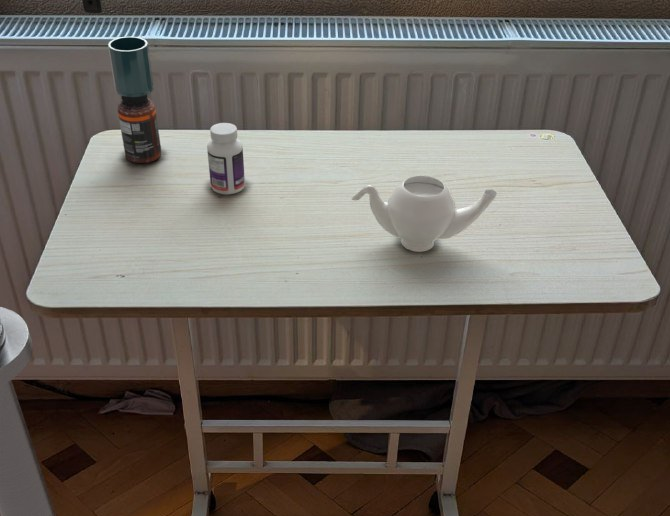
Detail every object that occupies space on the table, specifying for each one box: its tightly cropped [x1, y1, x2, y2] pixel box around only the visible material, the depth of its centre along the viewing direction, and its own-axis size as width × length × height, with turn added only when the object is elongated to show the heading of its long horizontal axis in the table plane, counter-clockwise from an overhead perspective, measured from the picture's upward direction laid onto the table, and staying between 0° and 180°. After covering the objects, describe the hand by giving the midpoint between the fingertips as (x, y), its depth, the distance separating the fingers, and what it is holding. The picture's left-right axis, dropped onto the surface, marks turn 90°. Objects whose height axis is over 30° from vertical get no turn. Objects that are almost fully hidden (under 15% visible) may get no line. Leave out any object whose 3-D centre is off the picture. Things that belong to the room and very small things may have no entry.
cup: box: [107, 36, 154, 97], centre depth 127 cm, size 6×6×7 cm
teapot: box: [350, 175, 497, 253], centre depth 118 cm, size 10×20×9 cm, turn 82°
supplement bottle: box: [117, 94, 162, 164], centre depth 134 cm, size 6×6×11 cm
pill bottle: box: [206, 122, 246, 195], centre depth 128 cm, size 5×5×10 cm
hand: (100, 0), depth 106 cm, fingers open, 8 cm apart
